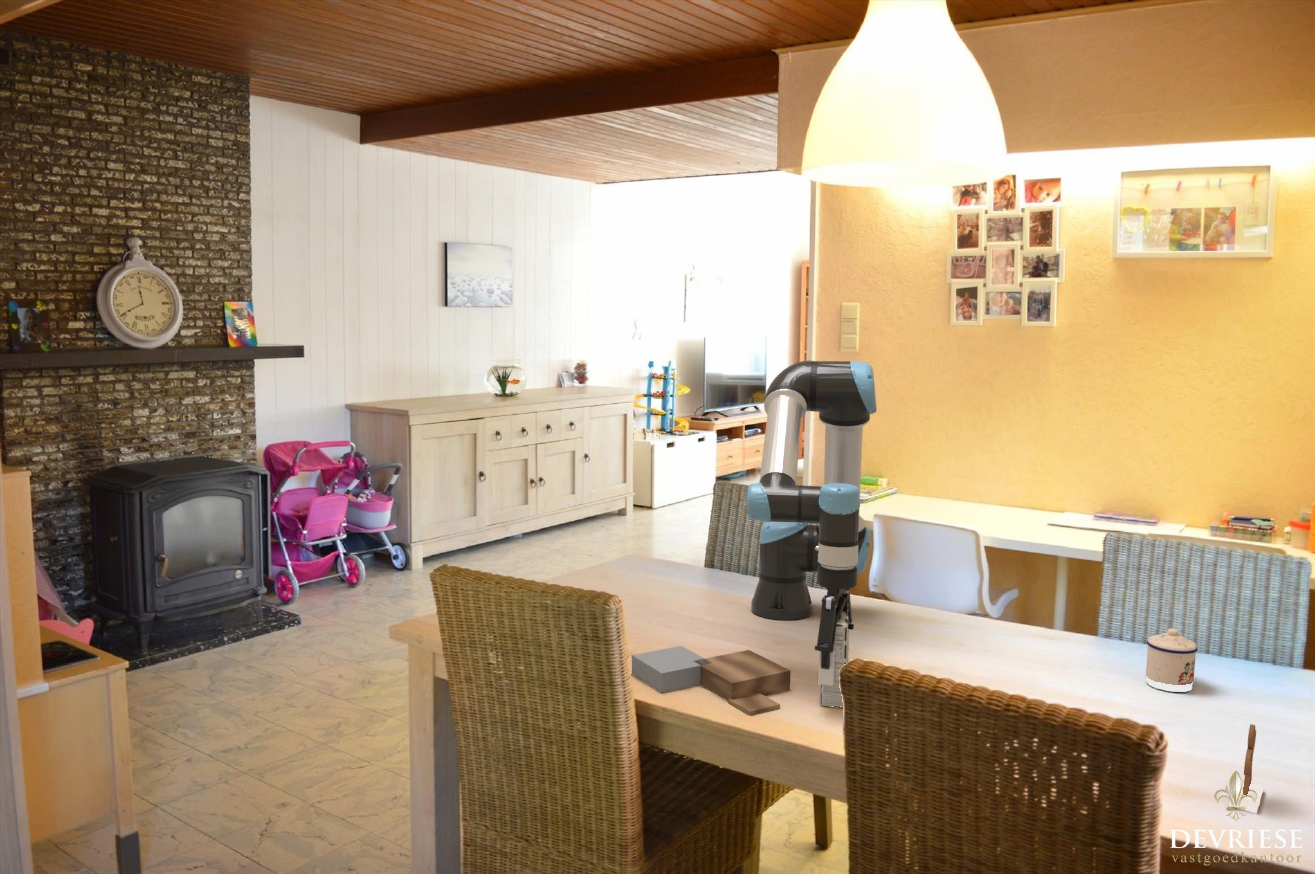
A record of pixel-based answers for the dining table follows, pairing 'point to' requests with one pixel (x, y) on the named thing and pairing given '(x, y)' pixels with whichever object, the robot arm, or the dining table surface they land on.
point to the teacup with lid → (1171, 658)
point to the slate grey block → (668, 668)
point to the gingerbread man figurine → (1249, 759)
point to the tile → (754, 704)
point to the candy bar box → (837, 664)
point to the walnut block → (743, 675)
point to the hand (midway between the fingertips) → (833, 672)
